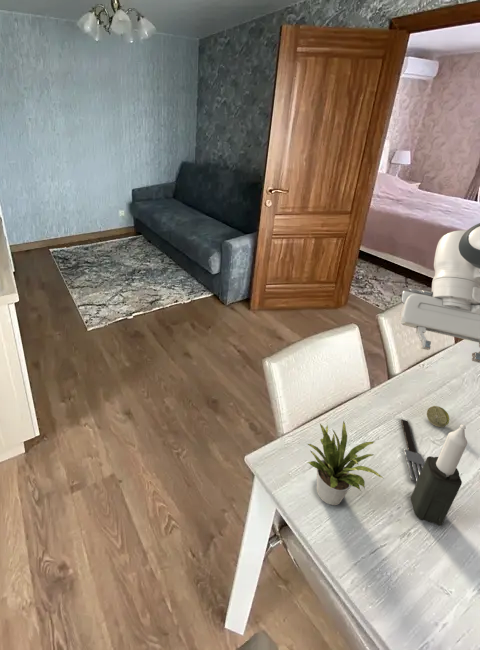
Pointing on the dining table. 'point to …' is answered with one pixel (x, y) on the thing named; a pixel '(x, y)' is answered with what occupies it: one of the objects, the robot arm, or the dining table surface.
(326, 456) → the house plant
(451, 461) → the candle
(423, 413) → the dining table surface
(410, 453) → the fork
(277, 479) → the dining table surface
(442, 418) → the lime
